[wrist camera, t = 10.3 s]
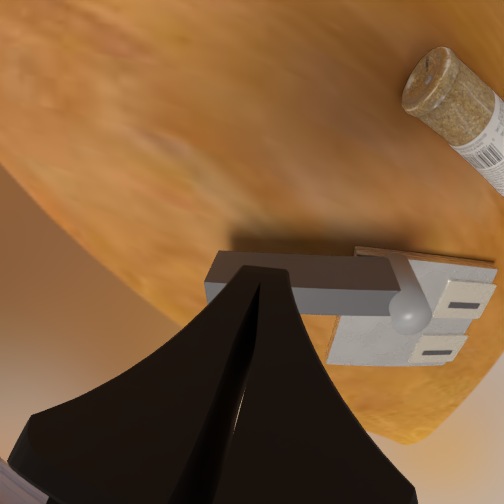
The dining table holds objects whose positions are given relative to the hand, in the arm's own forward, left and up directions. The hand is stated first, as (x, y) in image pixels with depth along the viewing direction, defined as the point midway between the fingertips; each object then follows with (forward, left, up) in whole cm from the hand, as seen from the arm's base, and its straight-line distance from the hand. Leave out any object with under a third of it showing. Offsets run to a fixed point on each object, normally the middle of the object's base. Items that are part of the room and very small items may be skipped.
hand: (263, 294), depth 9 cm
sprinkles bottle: (-6, -8, -8) cm, 13 cm away
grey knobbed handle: (-3, +4, -9) cm, 10 cm away
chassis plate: (-11, +9, -10) cm, 17 cm away
